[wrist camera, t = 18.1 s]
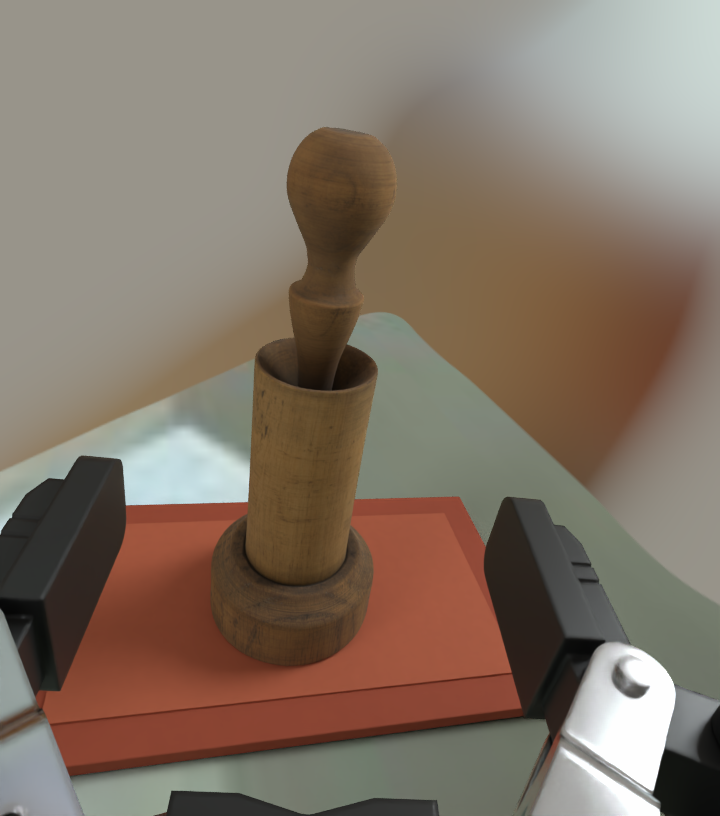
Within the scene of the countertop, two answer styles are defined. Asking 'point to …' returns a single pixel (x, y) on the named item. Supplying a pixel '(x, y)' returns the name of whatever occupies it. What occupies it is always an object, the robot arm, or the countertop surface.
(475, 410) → the countertop surface
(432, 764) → the countertop surface
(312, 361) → the mortar and pestle
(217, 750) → the tray
